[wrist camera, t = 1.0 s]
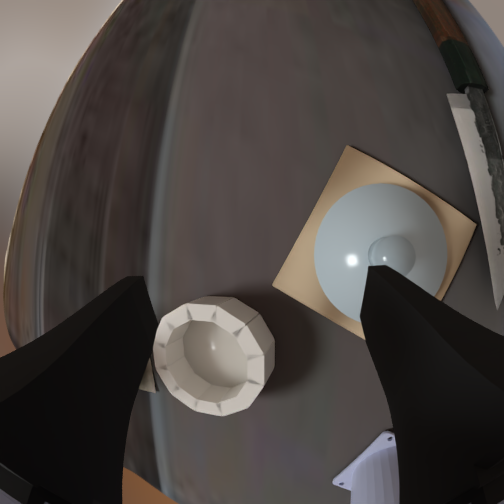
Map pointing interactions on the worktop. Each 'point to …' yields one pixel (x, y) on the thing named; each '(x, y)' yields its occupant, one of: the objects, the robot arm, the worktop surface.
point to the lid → (378, 243)
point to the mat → (340, 183)
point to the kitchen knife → (473, 132)
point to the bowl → (214, 354)
